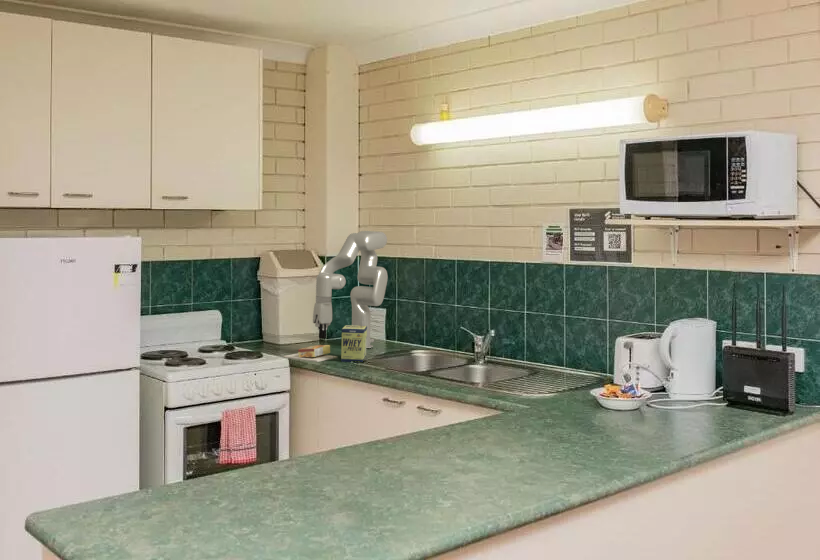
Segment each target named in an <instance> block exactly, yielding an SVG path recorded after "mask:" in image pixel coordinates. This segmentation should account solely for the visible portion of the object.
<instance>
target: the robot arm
mask: <svg viewBox="0 0 820 560" xmlns="http://www.w3.org/2000/svg"><path fill="white" fill-rule="evenodd" d="M387 243H388V237H387V234H385V232H383V231H374V230H373V231H372V230H371V231H370V230H361V231H359V232H353V233H349V234H348V236H347V237H346V239H345V241H344V243H343V244H342V245H341V248H340V250H339V252H338V254H336V256H334V257H332V258H331V259H329V260H328V261H327V262H325V264H323V266H322V267H321V270H319V272H318V274H317V275H316V279H315V280H316V281H315V283H316V284H315V302H314V306H313V313H312V323H313V324H315V325H314V326H315V327H317V329H318V338H319V339H326V338H327V330H328V328H329V326H331V323H332V322H333V305H332V296H333V295H332V292H333V291H332V290H341V289H343V288H344V287H345V285H346V283H347V281H346V277H345V276H344V275H343V274H339V273H335V272H337V271H338V270H340V269H344V268H346V267H349V266H351V265H353V263H354V262H355V260H356V259H357V256H358V254H359V252H360V263H359V266H358V271H357V281H358V283H359V284H363V285H358V286H357V285H356V286H354V287H353V288H352V289H351V291H350V302H351V325H358V326H367V342H366V348H371V347H374V345H373V344H371V343H374V342H375V338H371V318H372V317H371V315H372V314H371V310H370V307H369V306H371V307H379V306H381V305H382V303H383V301H384V298H385V294H386V290H387V285H388V271H387V270H386V268H385V267H383V266H377V264H378V254H377V252H376V250H381V249H383V248H384V247H385V246H386V245H387ZM366 285H369V286H366ZM370 285H371V286H370ZM372 285H373V286H372ZM371 349H372V348H371Z"/></svg>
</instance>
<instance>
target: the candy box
mask: <svg viewBox="0 0 820 560" xmlns="http://www.w3.org/2000/svg"><path fill="white" fill-rule="evenodd" d="M297 353H298V354H299V357H316V356H320V355H328V354H331V344H317V345H310V346H306V347H303V348H302V347H301V348H298V352H297Z"/></svg>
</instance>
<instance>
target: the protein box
mask: <svg viewBox="0 0 820 560" xmlns="http://www.w3.org/2000/svg"><path fill="white" fill-rule="evenodd" d="M366 342H367V326H358V325H352V324H351V325H350V324H346V325H344V326H343V327H342V328H341V344H340V345H341V347H340V348H341V351H340V356H341V357H340V358H341V359H340V361H341V363H352V362H351V361H360V362H363V360H364V358H365V357H366V358H367V349H366ZM364 361H365V360H364ZM363 363H364V362H363Z"/></svg>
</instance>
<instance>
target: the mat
mask: <svg viewBox="0 0 820 560" xmlns="http://www.w3.org/2000/svg"><path fill="white" fill-rule="evenodd" d="M282 357H283V358H286V359H292V360H293V359H294V360H301V361H308V362H315V363H318V362H319V363H320V362H322V361H324V362H325V361H328V360H334V359H338V356H337V355H328V354H324V355H320V356H316V357H299V354H298V352H297V353H293V354H288V355H283V356H282Z"/></svg>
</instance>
